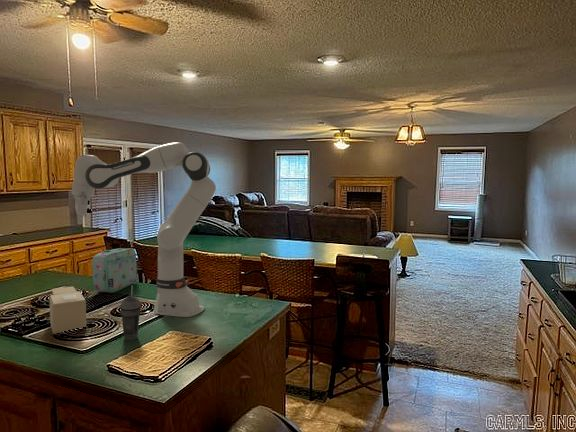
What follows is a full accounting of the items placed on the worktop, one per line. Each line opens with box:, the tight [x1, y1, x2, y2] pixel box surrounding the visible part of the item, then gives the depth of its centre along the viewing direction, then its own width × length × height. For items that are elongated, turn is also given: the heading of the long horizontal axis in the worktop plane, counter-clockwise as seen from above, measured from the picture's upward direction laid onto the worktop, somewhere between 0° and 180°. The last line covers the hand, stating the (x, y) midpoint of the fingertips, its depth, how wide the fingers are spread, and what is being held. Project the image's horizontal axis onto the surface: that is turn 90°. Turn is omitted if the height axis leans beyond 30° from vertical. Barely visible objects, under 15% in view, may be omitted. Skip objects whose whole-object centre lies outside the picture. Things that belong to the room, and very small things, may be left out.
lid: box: [49, 286, 86, 306], centre depth 158 cm, size 22×10×1 cm, turn 35°
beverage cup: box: [119, 284, 142, 341], centre depth 146 cm, size 7×7×20 cm
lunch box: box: [91, 247, 138, 294], centre depth 208 cm, size 27×10×21 cm, turn 168°
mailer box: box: [49, 297, 87, 336], centre depth 155 cm, size 12×11×11 cm
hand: (78, 222), depth 175 cm, fingers open, 8 cm apart
